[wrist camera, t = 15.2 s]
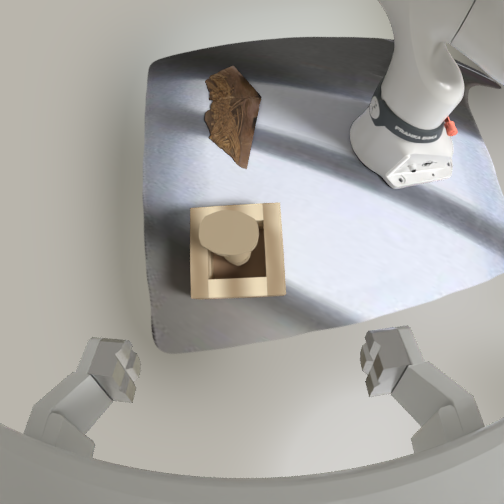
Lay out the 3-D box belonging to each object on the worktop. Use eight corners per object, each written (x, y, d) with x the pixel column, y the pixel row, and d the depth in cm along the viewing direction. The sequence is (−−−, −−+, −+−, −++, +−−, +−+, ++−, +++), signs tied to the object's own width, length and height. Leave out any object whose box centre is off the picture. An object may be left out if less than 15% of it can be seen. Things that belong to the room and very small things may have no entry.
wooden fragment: (205, 70, 55) (205, 67, 54) (256, 65, 55) (256, 62, 54) (205, 173, 51) (204, 170, 50) (269, 167, 50) (269, 164, 49)
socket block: (278, 214, 48) (279, 202, 43) (283, 295, 46) (285, 294, 40) (198, 219, 49) (190, 208, 43) (199, 299, 46) (191, 298, 41)
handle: (220, 239, 47) (201, 209, 33) (261, 241, 47) (260, 212, 32) (217, 269, 46) (196, 252, 32) (259, 272, 46) (257, 256, 31)
